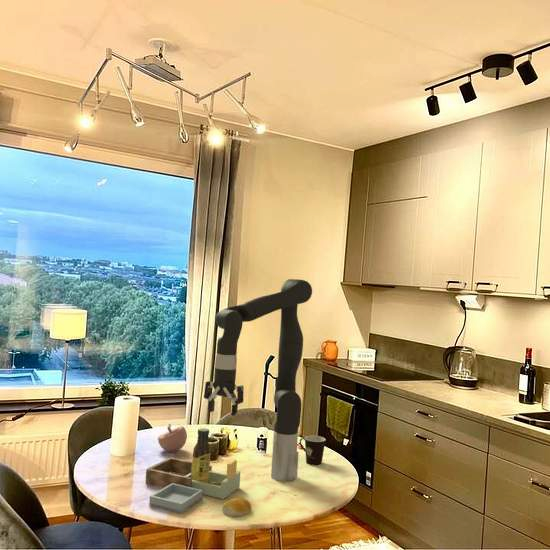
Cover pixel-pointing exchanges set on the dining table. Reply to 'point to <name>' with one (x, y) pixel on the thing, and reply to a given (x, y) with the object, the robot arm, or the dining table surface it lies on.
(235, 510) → the bread roll
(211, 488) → the caddy
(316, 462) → the coffee mug
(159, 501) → the tray
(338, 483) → the dining table surface
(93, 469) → the dining table surface
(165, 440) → the pinkish brown apple
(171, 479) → the walnut bay
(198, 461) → the sauce bottle
